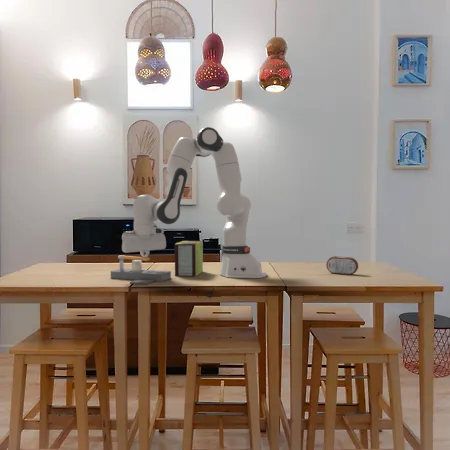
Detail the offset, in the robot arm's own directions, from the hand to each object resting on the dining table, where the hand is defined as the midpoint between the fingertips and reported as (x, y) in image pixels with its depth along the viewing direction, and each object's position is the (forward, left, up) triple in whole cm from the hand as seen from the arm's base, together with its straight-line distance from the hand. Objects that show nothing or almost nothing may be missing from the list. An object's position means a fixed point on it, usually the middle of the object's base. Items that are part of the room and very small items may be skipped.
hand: (145, 260), depth 198 cm
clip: (+5, +1, 0) cm, 5 cm away
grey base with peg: (+3, 0, -8) cm, 9 cm away
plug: (+5, 0, -8) cm, 9 cm away
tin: (-84, -42, -9) cm, 95 cm away
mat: (-3, +9, -8) cm, 12 cm away
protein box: (-13, -19, -9) cm, 25 cm away
